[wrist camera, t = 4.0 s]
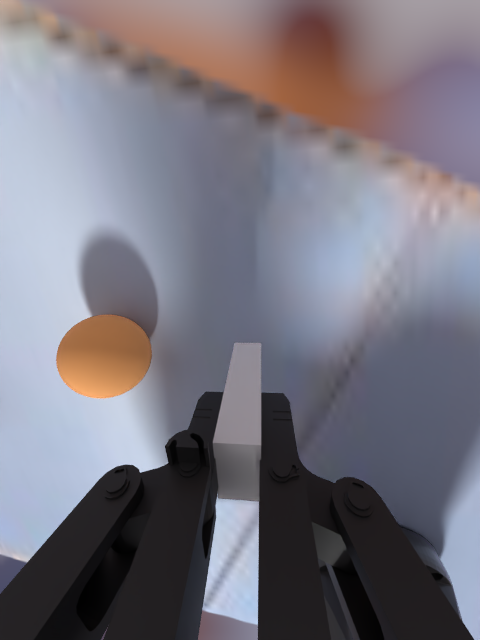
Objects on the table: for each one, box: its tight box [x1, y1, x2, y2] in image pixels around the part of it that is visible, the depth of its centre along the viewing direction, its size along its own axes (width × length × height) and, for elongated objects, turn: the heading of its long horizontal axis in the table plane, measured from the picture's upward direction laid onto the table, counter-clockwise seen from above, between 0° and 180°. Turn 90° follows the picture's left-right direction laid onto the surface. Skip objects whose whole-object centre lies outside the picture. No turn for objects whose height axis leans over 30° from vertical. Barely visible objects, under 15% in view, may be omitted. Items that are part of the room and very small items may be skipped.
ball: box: [56, 315, 152, 398], centre depth 16 cm, size 6×6×6 cm
